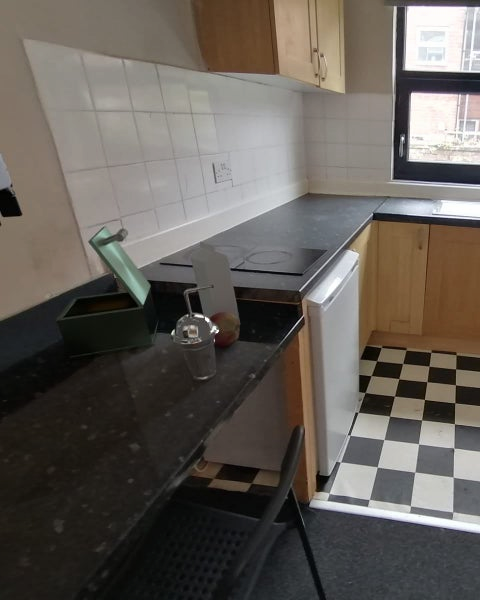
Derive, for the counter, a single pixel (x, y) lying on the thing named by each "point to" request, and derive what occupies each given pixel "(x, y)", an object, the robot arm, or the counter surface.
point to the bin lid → (120, 263)
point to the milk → (214, 281)
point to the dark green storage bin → (107, 324)
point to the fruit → (226, 329)
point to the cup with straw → (197, 340)
